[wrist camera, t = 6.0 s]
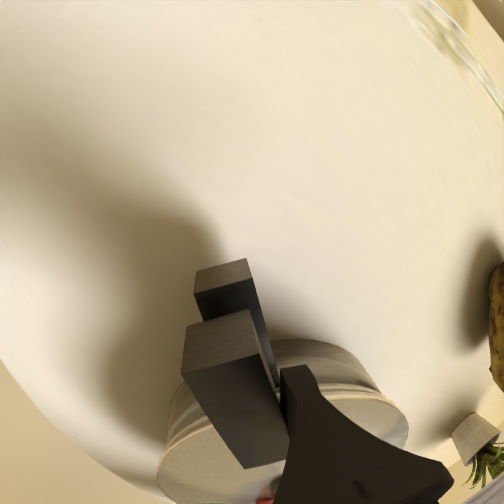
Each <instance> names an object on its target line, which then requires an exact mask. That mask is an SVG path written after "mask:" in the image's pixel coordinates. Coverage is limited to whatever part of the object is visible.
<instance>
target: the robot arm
mask: <svg viewBox="0 0 504 504" xmlns="http://www.w3.org/2000/svg"><path fill="white" fill-rule="evenodd" d="M280 406H281V409H282V413H283V416H284V420H285V423H286V426H287V430H288V431H287V433H288V436H289V439H290V442H289V448H288V453H287V457H286V462H285V466H284V469H283V473H282V476H281V479H280V483H279V486H278V489H277V492H276V495H275V497H274V500H273V502H272V504H439V502H438V501H437V500H439V498H441V497H442V496H443V495H444V494H445V493H446V492H447V491H448V490H449V489H450V488H451V487H452V485H453V484H454V479H453V478H452V476H451V474H450V473H449V471H448V470H447V468H446V467H445V466H444V465H443V464H442V462H439V461H436V460H432V459H428V458H425V457H421V456H418V455H415V454H412V453H410V452H407V451H405V450H402V449H400V448H398V447H396V446H394V445H392V444H389V443H387V442H385V441H383V440H381V439H380V438H378V437H376V436H374V435H373V434H371V433H369V432H368V431H366V430H365V429H363V428H362V427H360V426H359V425H357V424H356V423H354V422H353V421H352V420H350V419H349V418H348V417H347V416H345V415H344V414H343V413H342V412H340V411H339V410H338V409H337V408H336V407H335V406H334V405H332V404H331V403H330V402H329V401H328V400H327V399H326V398H325V397H324V396H323V395H322V394H321V392H320V389H319V387H318V384H317V382H316V379H315V377H314V375H313V373H312V372H311V370H310V369H309V367H308V366H307V365H306V364H304V365H298V366H292V367H286V368H280ZM462 504H504V471H503V472H502V473H501V474H500V475H499V476H497V477H496V478H495V479H494V480H493V481H491V482H490V483H489V484H488V485H487V486H485V487H484V488H482V489H481V490H480V491H479V492H477V493H476V494H474V495H473V496H472V497H470V498H469V499H467V500H466V501H465V502H463V503H462Z"/></svg>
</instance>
